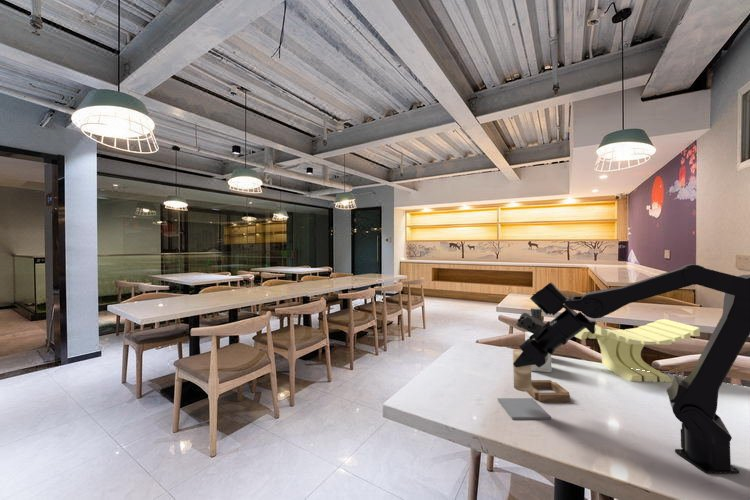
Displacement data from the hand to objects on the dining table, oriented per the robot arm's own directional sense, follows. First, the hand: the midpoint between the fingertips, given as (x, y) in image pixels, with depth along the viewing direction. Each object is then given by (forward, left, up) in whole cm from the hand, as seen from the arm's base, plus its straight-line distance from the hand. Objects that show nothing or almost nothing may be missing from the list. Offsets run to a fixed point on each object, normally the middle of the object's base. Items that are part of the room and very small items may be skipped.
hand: (516, 363), depth 84 cm
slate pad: (-1, -1, -12) cm, 12 cm away
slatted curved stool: (+24, -51, -13) cm, 58 cm away
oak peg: (-1, -1, -7) cm, 7 cm away
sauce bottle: (+40, -26, -13) cm, 50 cm away
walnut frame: (+8, -12, -12) cm, 19 cm away
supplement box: (+28, -20, -13) cm, 37 cm away
